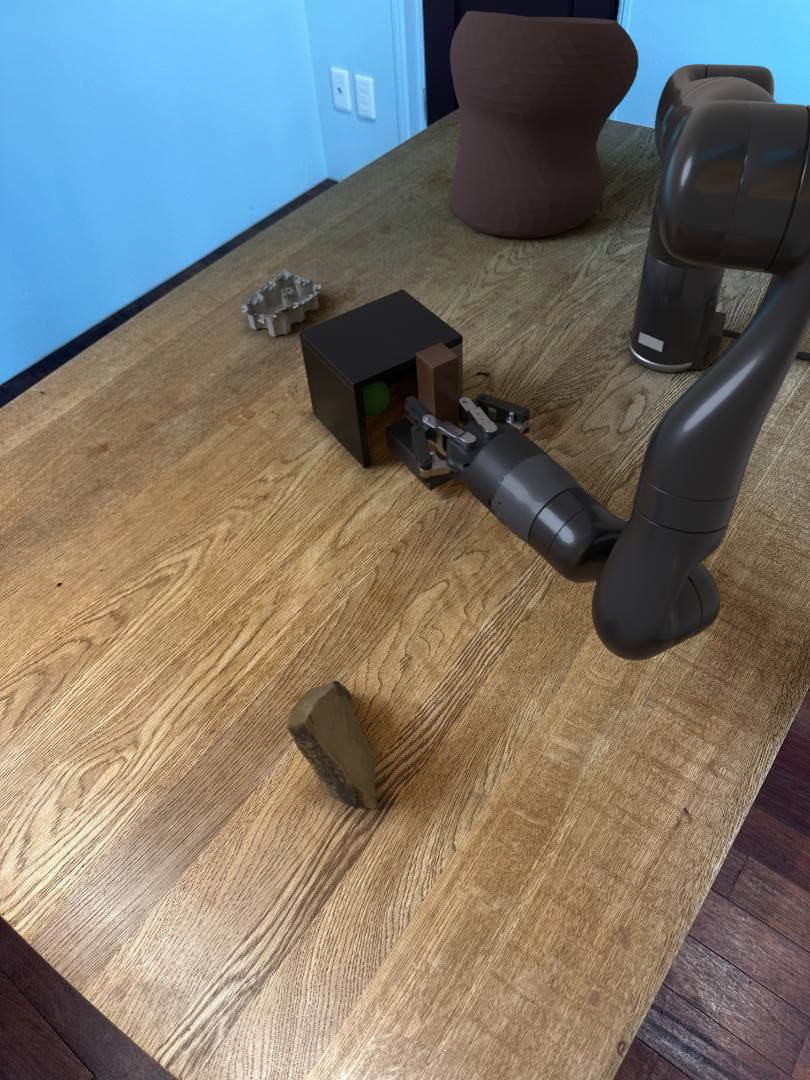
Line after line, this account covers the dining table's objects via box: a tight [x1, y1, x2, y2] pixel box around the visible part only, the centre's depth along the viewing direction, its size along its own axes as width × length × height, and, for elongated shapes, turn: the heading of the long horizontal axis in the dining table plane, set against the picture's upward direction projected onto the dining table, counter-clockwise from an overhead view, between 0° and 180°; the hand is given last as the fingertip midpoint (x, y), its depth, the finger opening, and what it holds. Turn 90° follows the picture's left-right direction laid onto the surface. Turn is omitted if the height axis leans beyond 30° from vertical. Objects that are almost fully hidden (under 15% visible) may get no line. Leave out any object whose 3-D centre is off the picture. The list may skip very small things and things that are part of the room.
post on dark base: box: [384, 342, 460, 492], centre depth 86 cm, size 9×5×16 cm, turn 33°
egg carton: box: [240, 268, 323, 338], centre depth 113 cm, size 11×8×4 cm
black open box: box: [298, 288, 464, 469], centre depth 94 cm, size 12×14×12 cm
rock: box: [286, 680, 378, 810], centre depth 68 cm, size 11×9×10 cm
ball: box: [362, 380, 391, 418], centre depth 98 cm, size 5×5×5 cm
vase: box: [448, 10, 639, 239], centre depth 121 cm, size 27×27×30 cm
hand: (423, 397), depth 85 cm, fingers closed on post on dark base, 3 cm apart
